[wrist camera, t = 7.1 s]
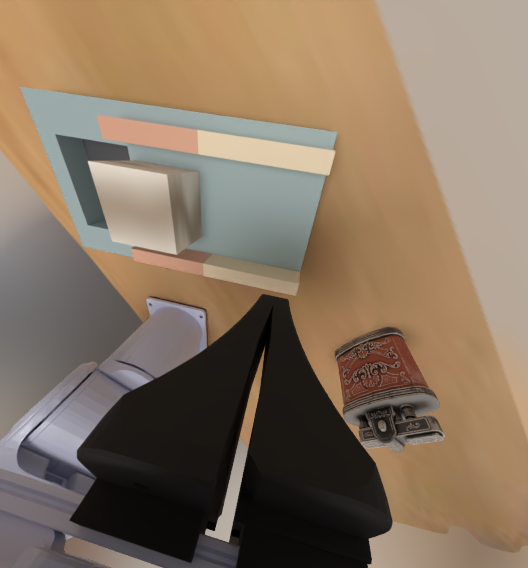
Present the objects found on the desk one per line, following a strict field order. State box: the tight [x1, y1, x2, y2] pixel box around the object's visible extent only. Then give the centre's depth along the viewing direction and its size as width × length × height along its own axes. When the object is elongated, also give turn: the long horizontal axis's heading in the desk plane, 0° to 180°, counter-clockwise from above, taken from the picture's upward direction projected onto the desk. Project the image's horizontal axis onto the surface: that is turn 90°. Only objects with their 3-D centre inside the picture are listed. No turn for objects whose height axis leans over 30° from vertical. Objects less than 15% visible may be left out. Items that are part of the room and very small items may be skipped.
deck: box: [20, 87, 337, 296], centre depth 16 cm, size 12×22×4 cm, turn 83°
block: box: [88, 160, 202, 255], centre depth 14 cm, size 5×5×4 cm
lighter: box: [335, 327, 445, 452], centre depth 19 cm, size 8×3×10 cm, turn 137°
